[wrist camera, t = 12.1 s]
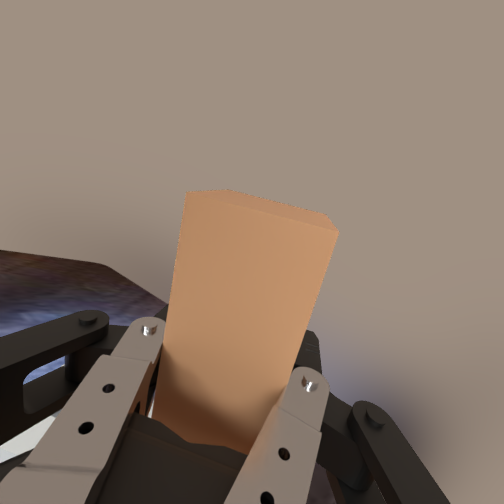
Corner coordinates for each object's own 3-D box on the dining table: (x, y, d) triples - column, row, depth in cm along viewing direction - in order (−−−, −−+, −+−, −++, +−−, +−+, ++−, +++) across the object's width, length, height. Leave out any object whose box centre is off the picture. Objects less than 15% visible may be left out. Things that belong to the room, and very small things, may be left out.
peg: (132, 541, 11) (186, 191, 7) (176, 449, 15) (228, 189, 10) (219, 581, 10) (339, 231, 6) (242, 475, 14) (325, 214, 10)
